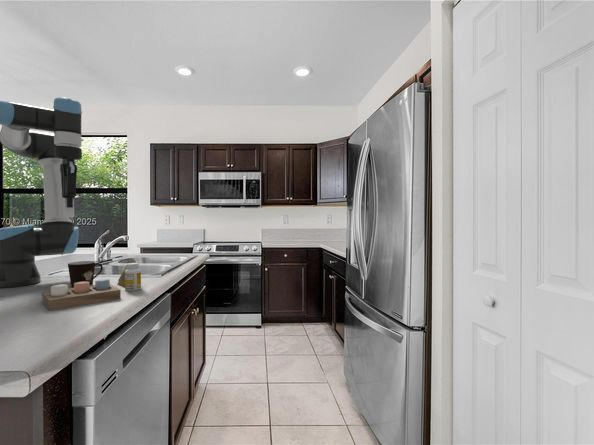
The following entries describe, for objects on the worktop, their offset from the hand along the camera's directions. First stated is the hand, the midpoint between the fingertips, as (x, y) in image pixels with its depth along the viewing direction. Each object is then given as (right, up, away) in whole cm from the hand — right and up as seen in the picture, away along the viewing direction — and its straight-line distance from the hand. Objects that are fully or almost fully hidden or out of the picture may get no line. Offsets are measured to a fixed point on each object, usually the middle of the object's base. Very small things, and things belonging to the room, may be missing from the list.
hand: (69, 217), depth 109 cm
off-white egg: (+2, -27, -7) cm, 28 cm away
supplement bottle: (+16, -27, +12) cm, 33 cm away
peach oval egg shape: (+7, -27, -3) cm, 28 cm away
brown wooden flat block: (+7, -27, -3) cm, 28 cm away
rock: (+11, -27, +18) cm, 34 cm away
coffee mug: (-2, -27, +12) cm, 30 cm away
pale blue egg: (+11, -26, +1) cm, 29 cm away
